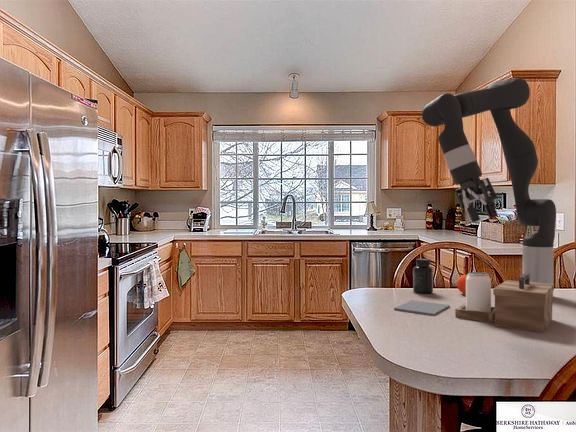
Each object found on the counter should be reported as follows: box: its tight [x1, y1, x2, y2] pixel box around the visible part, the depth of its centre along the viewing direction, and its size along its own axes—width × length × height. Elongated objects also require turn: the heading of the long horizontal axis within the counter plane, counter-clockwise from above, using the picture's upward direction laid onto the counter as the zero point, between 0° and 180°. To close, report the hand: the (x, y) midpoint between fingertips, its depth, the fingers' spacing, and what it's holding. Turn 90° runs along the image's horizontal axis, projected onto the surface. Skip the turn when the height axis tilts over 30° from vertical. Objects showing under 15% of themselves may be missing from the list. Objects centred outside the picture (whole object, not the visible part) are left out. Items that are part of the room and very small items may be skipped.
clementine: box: [456, 273, 468, 295], centre depth 154 cm, size 8×7×7 cm
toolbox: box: [454, 273, 555, 334], centre depth 119 cm, size 17×22×13 cm
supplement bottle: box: [412, 258, 434, 295], centre depth 158 cm, size 7×7×12 cm
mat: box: [393, 300, 451, 317], centre depth 133 cm, size 14×12×1 cm
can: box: [465, 271, 492, 313], centre depth 123 cm, size 6×6×12 cm
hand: (484, 219), depth 121 cm, fingers open, 8 cm apart
